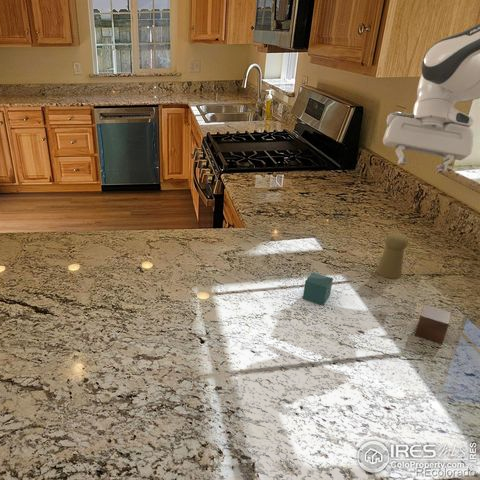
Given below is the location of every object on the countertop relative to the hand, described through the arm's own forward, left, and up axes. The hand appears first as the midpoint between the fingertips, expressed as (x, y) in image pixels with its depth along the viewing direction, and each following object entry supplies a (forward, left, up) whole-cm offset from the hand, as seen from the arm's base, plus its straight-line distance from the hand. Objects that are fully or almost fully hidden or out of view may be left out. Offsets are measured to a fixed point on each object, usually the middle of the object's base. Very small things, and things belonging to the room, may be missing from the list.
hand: (421, 168), depth 108 cm
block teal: (+32, +12, -27) cm, 43 cm away
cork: (+7, +6, -27) cm, 28 cm away
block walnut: (+16, +30, -27) cm, 43 cm away
